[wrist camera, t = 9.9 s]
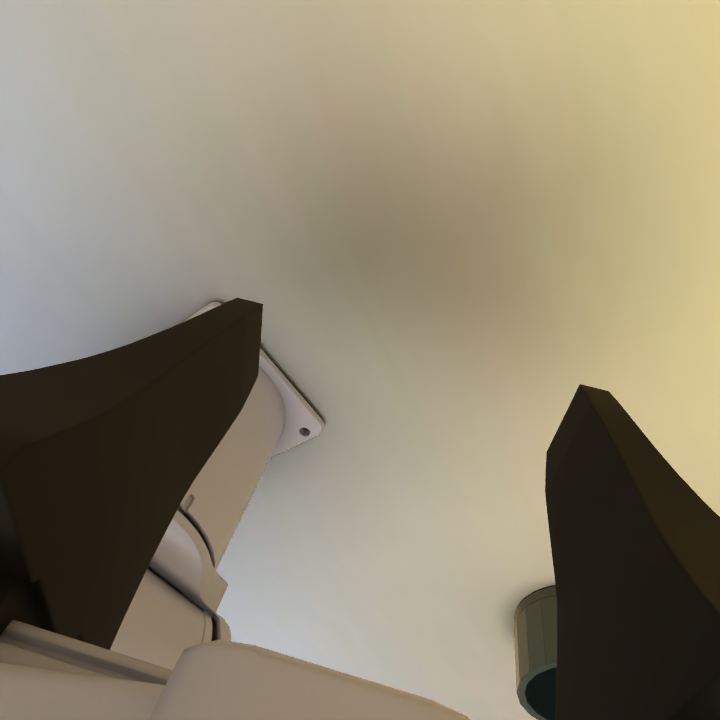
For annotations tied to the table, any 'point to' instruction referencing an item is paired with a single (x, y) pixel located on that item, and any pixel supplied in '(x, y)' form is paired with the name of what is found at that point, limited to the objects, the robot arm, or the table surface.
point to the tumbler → (537, 653)
